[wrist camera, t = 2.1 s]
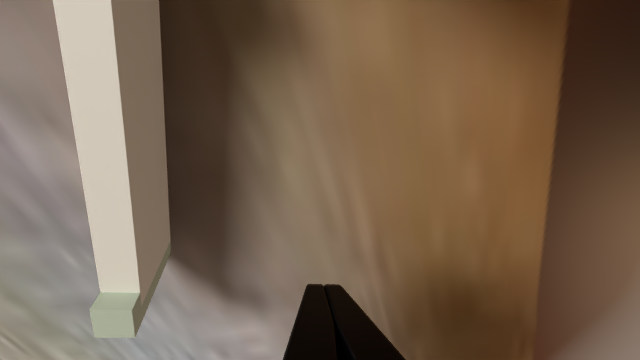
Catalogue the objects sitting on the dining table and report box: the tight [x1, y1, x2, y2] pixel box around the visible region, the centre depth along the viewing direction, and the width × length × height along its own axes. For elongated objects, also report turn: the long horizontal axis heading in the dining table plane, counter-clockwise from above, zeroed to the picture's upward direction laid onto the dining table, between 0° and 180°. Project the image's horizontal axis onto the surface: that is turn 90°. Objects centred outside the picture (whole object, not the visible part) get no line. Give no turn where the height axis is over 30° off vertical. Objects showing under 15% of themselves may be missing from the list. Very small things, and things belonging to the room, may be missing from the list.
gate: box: [53, 0, 171, 338], centre depth 14 cm, size 16×2×6 cm, turn 172°
